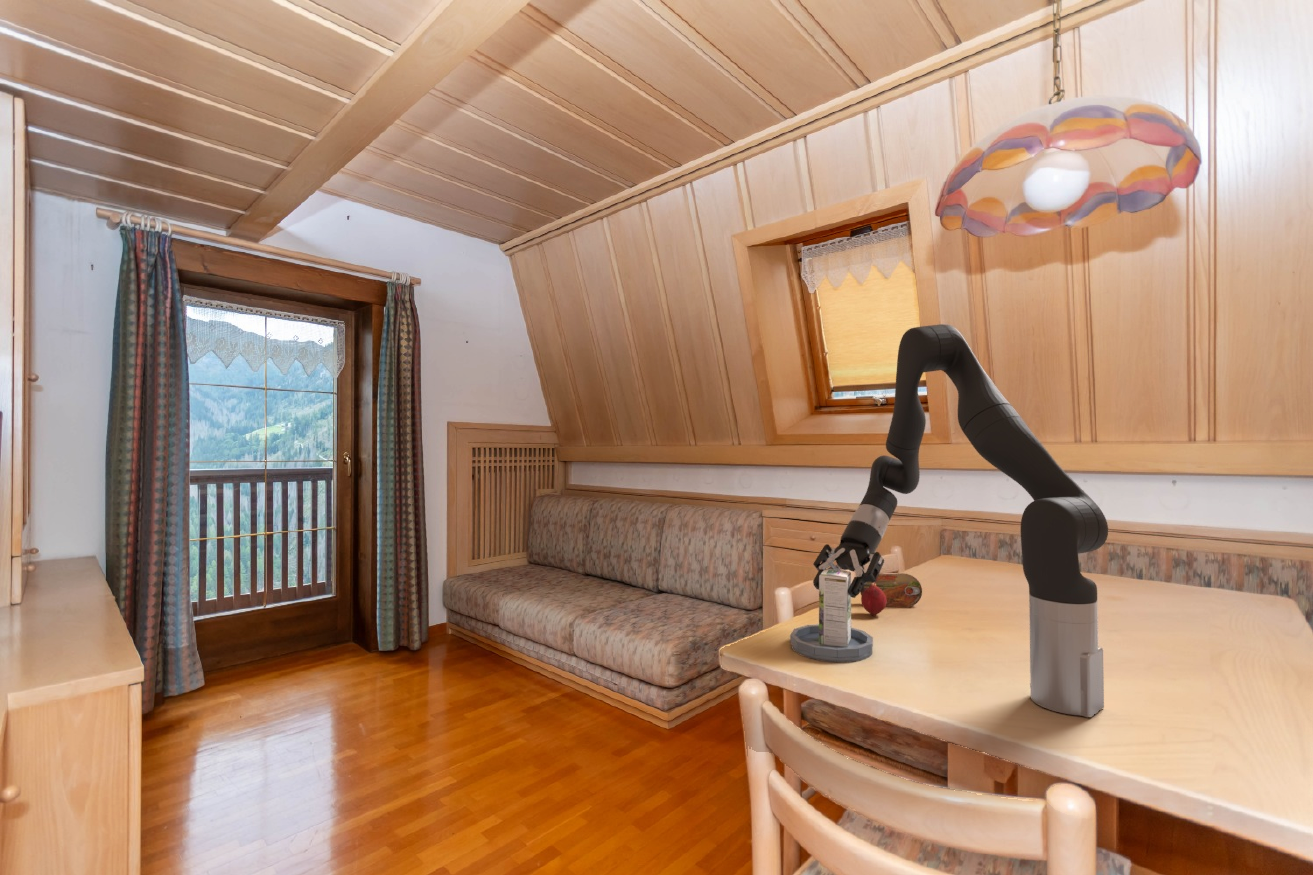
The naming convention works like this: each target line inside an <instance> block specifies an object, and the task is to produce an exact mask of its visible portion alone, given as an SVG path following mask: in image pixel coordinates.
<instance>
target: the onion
mask: <svg viewBox="0 0 1313 875" xmlns="http://www.w3.org/2000/svg"><path fill="white" fill-rule="evenodd" d="M860 596H861V595H860ZM860 601H861V605H862V607H863V609H864V610H865V611H866V612H868V613H869V614H870V615H871V616H875V617H876V616H877V615H878V614H880V613H881V612H883V610H884V609H885V608H886V607H885V606H886V603H887V599H886V596H885V594H884V593H883V591H882V590H881V589H880V588H878V587H877V586H876V583H871V586H870V587H868V588H867V589H866V590H865V591H864V592H863V594H862V596H861V598H860Z"/></svg>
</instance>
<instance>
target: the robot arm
mask: <svg viewBox="0 0 1313 875" xmlns="http://www.w3.org/2000/svg"><path fill="white" fill-rule="evenodd" d="M969 345H970V344H969V343H968V342H967V340H966V339H965V337H964V336H963V335H962V333H961V332H960V331H959V329H957V328H956V327H954V326H953V325H950V324H946V323H945V324H943V323H942V324H940V323H939V324H932V325H922V326H916V327H912V328H911V327H910V328H909V329H907V330H906V331H905V332H904V334H903V335H902V337H901V338H900V341H899V346H898V351H897V362H896V363H897V364H896V376H895V388H894V404H893V405H894V406H893V411H892V417H891V421H890V425H889V430H888V433H887V437H886V442H885V450H886V451H887V452H888V453H889V454H890V455H892V456H889V455H881V456H878V457H877V458H875V459H874V461H873V462H872V464H871V467H870V468H871V469H870V473H869V481H868V485H867V488H866V491H865V494H864V496H863V498H862V500H861V502H860V503H859V506H858V507H857V509H856V510H855V511H854V513H853V514H852V515H851V518H850V519H849V521H848V523H847V525H846V527H845V529H844V531H843V533H842V535H841V536H840V541H839V544H838V545H837V546H836V547H833V546H832V547H831V546H830V545H829V543H826V544H824V546H823V548H822V549H821V550H820V552H819V554H818V555H817V557H816V558H815V560H814V562H813V564H812V565H813V566H814V567H815V569H816V570H817V574H816V575H815V577H814V579H813V581H812V583H813V586H814V588H815V589H816V590H818V591H819V575H820V574H821V573H822V572H823V571H824V570H827V569H834V570H843V571H849V572H855V575H856V576H854V577H853V579H852V580H851V585H850V587H849V589H848V594H849V595H850V597H851V598H854V599H855V598H856V597H857V596H859V595H860V594H861V593H860V591H861V589H862V587H863V585H864V584H865V583H867V582H871V583H874V582H876V580H877V578H878V575H879V573H881V570H882V569H883V568H882V567H883V566H884V563H885V560H884V558H883V556H882V555H881V553H880V552H879V551H877V549H878V547H879V545H880V543H881V541H882V539H883V537H884V536H885V533H886V531H887V529H888V526H889V523H890V520H891V518H892V517H893V515H894V513H895V510H896V508H897V506H898V498H897V496H896V495H895V494H894V493H892V492H891V491H890V490H892V491H894V492H897V493H899V494H903V495H908V494H911V493H912V492H914V491H915V490H916V489H917V488H918V485H919V482H920V462H919V461H920V460H919V459H920V458H919V457H920V456H919V455H920V454H919V453H920V447H921V443H922V441H923V437H924V434H925V430H926V424H927V423H926V422H927V420H926V415H925V410H924V408H923V406H922V403H921V400H920V396H919V385H920V381H921V378H922V376H923V375H924V373H930V372H937V371H939V372H940V371H942V372H944V373H945V374H946V375H947V377H948V378H949V379H950V380H951V382H952V384H953V385H954V386H955V388H956V390H957V393H958V395H957V396H958V397H957V398H958V399H957V420H958V425H959V427H960V430H961V431H962V432H963V434H964V435H965V437H966V438H967V440H968V441H969V442H970V444H971V445H972V447H973V448H974V449H975V451H976V452H977V453H978V454H979V455H980V456H981V457H982V458H983V459H984V460H985V461H987V463H989V464H990V465H991V466H993V467H994V468H995V469H997V470H999V471H1000V472H1001V473H1003V474H1005V475H1006V476H1007V477H1009V478H1010V479H1012V480H1013V481H1015V482H1016V483H1017V484H1018V485H1020V486H1021V487H1022V488H1023V489H1024V490H1025V491H1026V492H1027V494H1029V496H1030V497H1031V498H1032V499H1033V501H1031V502H1030V503H1029V504H1028V505H1026V507H1025V509H1024V511H1023V513H1022V515H1021V521H1020V545H1021V546H1020V547H1021V560H1022V571H1023V574H1024V577H1025V579H1026V582H1027V584H1028V599H1029V600H1028V602H1029V604H1028V605H1029V606H1028V607H1029V610H1028V611H1029V613H1028V614H1029V616H1028V617H1029V673H1030V680H1029V681H1030V682H1029V685H1030V688H1029V689H1030V698H1031V701H1032V702H1034V703H1035V704H1037V705H1039V706H1040V707H1042V708H1045V709H1047V710H1050V711H1052V712H1057V713H1059V714H1060V713H1061V714H1066V715H1070V716H1081V717H1085V718H1088V717H1091V718H1092V717H1093V716H1095V715H1096V714H1097V713H1099V712H1100V711H1102V709H1104V708H1105V692H1104V691H1105V688H1104V686H1105V685H1104V684H1105V683H1104V682H1105V681H1104V678H1105V677H1104V676H1105V675H1104V648H1103V647H1102V646H1099V636H1098V635H1099V630H1098V629H1099V626H1098V625H1099V624H1098V623H1099V621H1098V619H1099V616H1098V615H1099V614H1098V610H1099V609H1098V587H1097V584H1096V582H1095V581H1093V580H1092V579H1091V578H1088V577H1085V576H1084V575H1083V574H1082V573H1081V570H1080V561H1079V554H1084V553H1090V552H1094V551H1096V550H1098V549H1100V548H1101V547H1103V546H1104V545H1105V543H1106V541H1107V539H1108V536H1109V524H1108V522H1107V519H1106V515H1105V514H1104V513H1103V511H1102V510H1101V508H1100V506H1098V504H1097V503H1096V502H1095V501H1094V499H1092V498H1091V496H1089V495H1088V493H1087V492H1085V490H1084V489H1082V488H1081V487H1080V485H1079V484H1077V483H1076V482H1075V481H1074V480H1073V479H1072V478H1071V477H1070V476H1069V474H1067V473H1066V471H1065V470H1064V469H1063V468H1062V467H1061V465H1059V464H1058V462H1057V461H1056V460H1055V459H1054V458H1053V457H1052V454H1050V453H1049V451H1048V450H1047V449H1046V447H1045V445H1043V443H1042V442H1041V441H1040V440H1039V439H1038V438H1037V437H1036V435H1035V433H1033V432H1032V430H1031V429H1030V428H1029V426H1028V425H1027V423H1026V422H1025V420H1024V419H1023V418H1022V416H1021V415H1020V414H1019V413H1018V411H1017V410H1016V409H1015V408H1014V407H1013V405H1012V404H1011V403H1010V402H1009V401H1008V399H1006V398H1005V396H1004V395H1003V394H1002V392H1001V391H1000V390H999V388H998V387H997V385H996V384H995V383H994V382H993V380H992V379H991V377H990V376H989V375H988V374H987V372H986V371H985V370H984V368H983V366H982V365H981V363H980V362H979V360H978V358H977V356H976V355H975V353H974V352H973V350H972V348H971V347H970V346H969ZM834 562H835V563H836V564H835V563H834ZM867 564H868V566H867V569H865V565H867ZM1099 710H1100V711H1099ZM1098 711H1099V712H1098ZM1094 714H1095V715H1094Z"/></svg>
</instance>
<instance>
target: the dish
mask: <svg viewBox="0 0 1313 875" xmlns="http://www.w3.org/2000/svg"><path fill="white" fill-rule="evenodd" d="M789 638H790V639H789V640H790V642H789V643H790V644H791V648H792V650H793V651H794V652H795V653H796V654H798V653H799V654H798V655H800V656H802V657H806V658H808V659H811V660H816V661H822V662H827V663H828V662H829V663H851V662H852V663H853V662H859V661H863V660H866V659H868V658H870V657H871V656H872V655H873V647H874V637H873V636H872V635H871V634H869V633H867V632H866V631H864V630H861V629H858V628H855V627H851V640H850V642H849V644H848V647H838V646H829V645H821V644H819V623H817V624H806V625H803V626H800V627H796V628H793V630H792V631H791V633H790V635H789Z"/></svg>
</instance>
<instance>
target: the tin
mask: <svg viewBox="0 0 1313 875" xmlns="http://www.w3.org/2000/svg"><path fill="white" fill-rule="evenodd" d="M874 583H876V586H877V587H878V588H880V589H881V590H882V591H883V593H884V594H885V596H886V599H887V603H886V606H885V608H910V607H913V606H915V605H916V604H917V603H919V601H920V600H921V598H922V595H923V588H922V584H921V582H920V581H919V580H918V579H917V578H916V577H915V576H914V575H911V574H908V573H905V572H901V573H900V572H897V573H896V572H894V573H892V572H880V573H879V575H878V578H877V580H876V582H874ZM870 586H871V582H867V583H865V584H864V585H863V587H862V589H861V591H860V593H859V594H860V596H862V594H863V592H864V591H865V590H866V589H867V588H868V587H870Z"/></svg>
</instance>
